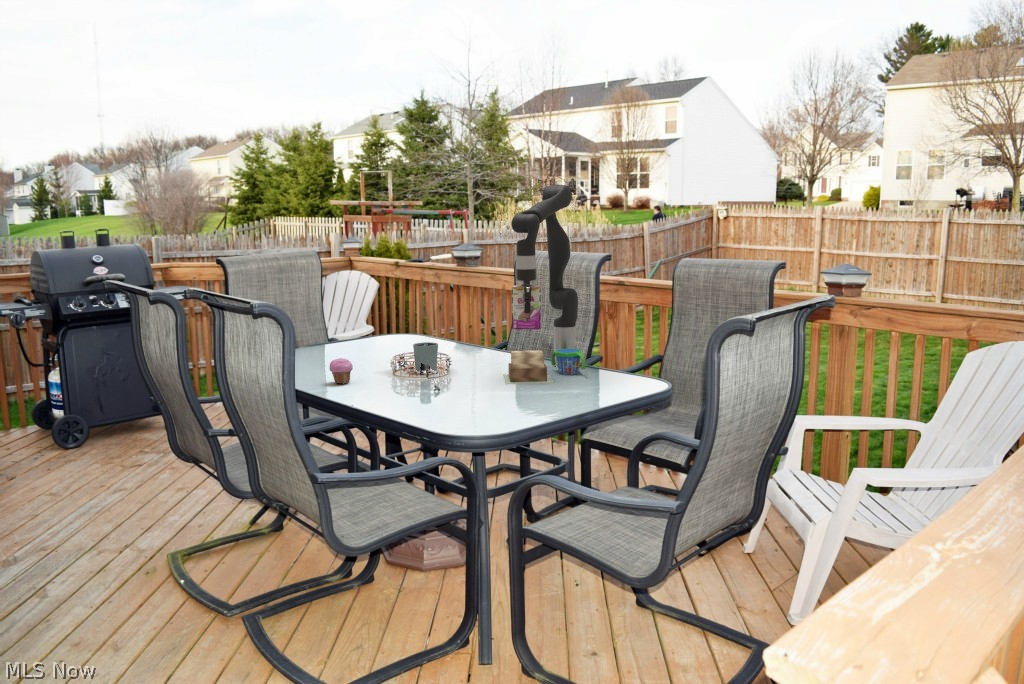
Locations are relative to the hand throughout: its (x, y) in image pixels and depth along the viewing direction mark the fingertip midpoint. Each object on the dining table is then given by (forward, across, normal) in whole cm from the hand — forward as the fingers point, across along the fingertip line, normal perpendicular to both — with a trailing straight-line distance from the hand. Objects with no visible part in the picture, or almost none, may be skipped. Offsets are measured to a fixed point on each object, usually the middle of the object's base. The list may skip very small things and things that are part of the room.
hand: (526, 312), depth 298 cm
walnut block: (+26, 0, 0) cm, 26 cm away
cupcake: (+27, +6, +72) cm, 77 cm away
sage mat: (+27, 0, 0) cm, 27 cm away
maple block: (+21, 0, 0) cm, 21 cm away
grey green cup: (+27, +23, +40) cm, 54 cm away
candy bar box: (+7, 0, 0) cm, 7 cm away
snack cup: (+27, +9, -17) cm, 33 cm away
